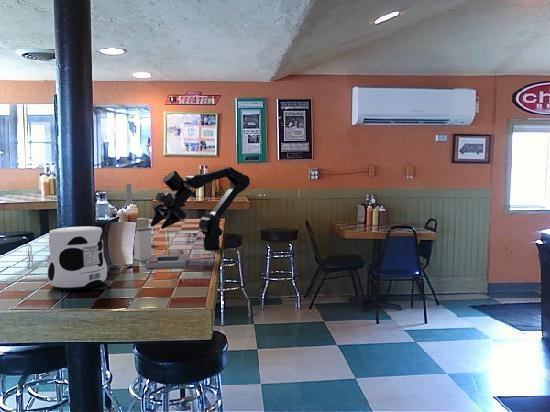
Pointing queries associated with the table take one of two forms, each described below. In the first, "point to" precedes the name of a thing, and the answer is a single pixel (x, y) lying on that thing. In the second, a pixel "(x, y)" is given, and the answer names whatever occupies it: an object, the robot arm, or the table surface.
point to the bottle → (128, 196)
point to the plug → (142, 244)
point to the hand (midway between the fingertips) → (156, 227)
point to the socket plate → (167, 261)
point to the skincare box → (142, 222)
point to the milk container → (76, 258)
